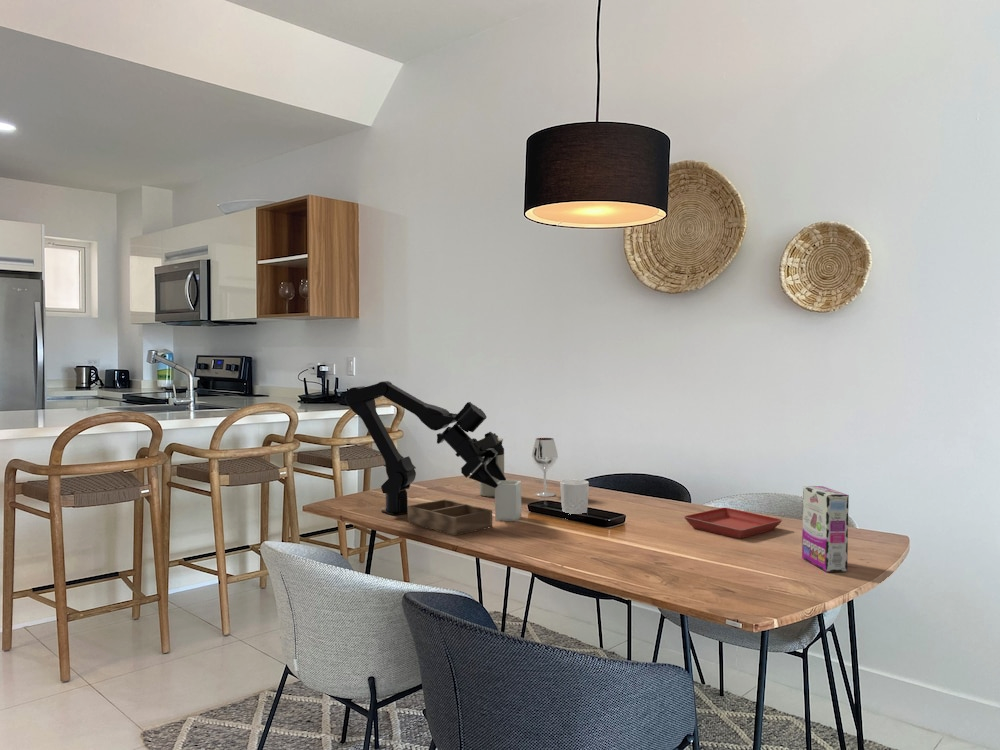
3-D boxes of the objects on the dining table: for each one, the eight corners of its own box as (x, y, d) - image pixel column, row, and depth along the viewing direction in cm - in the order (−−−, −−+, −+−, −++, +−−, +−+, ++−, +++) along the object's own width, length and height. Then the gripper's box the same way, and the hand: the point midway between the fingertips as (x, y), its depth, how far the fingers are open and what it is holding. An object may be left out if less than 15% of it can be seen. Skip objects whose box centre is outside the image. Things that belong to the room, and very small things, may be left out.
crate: (407, 522, 208) (407, 505, 207) (445, 515, 216) (445, 498, 216) (454, 535, 193) (453, 517, 193) (492, 527, 202) (492, 509, 202)
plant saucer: (783, 531, 197) (783, 518, 197) (741, 542, 186) (741, 529, 186) (724, 518, 211) (724, 507, 211) (682, 528, 200) (682, 516, 200)
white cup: (587, 521, 208) (587, 484, 207) (558, 520, 209) (558, 484, 209) (590, 515, 215) (590, 479, 215) (562, 513, 217) (562, 479, 217)
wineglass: (558, 497, 240) (558, 440, 240) (532, 497, 240) (532, 440, 240) (556, 492, 248) (556, 437, 248) (531, 492, 249) (531, 437, 248)
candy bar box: (849, 572, 160) (850, 494, 160) (826, 573, 160) (827, 495, 159) (822, 557, 171) (823, 484, 171) (800, 558, 171) (801, 485, 170)
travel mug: (497, 498, 240) (497, 441, 239) (475, 496, 243) (474, 439, 243) (508, 493, 247) (508, 438, 246) (486, 491, 251) (486, 437, 250)
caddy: (495, 520, 210) (494, 484, 209) (500, 515, 215) (500, 480, 215) (516, 521, 208) (516, 484, 208) (521, 516, 214) (521, 481, 213)
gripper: (471, 427, 204) (512, 469, 201) (490, 420, 222) (527, 458, 219) (444, 456, 206) (484, 498, 203) (464, 447, 224) (501, 485, 222)
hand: (501, 483), depth 212 cm, fingers open, 9 cm apart
